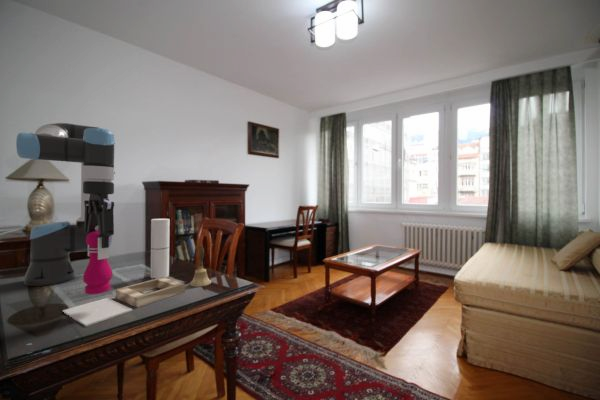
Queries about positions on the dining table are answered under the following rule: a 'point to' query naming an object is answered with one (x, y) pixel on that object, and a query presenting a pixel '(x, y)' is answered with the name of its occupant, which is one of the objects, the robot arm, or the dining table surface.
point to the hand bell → (200, 271)
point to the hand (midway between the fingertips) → (98, 256)
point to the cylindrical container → (160, 248)
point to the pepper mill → (96, 268)
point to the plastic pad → (97, 311)
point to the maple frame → (138, 299)
